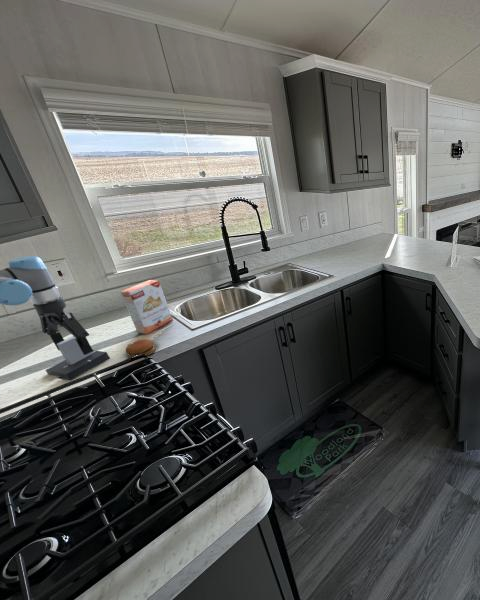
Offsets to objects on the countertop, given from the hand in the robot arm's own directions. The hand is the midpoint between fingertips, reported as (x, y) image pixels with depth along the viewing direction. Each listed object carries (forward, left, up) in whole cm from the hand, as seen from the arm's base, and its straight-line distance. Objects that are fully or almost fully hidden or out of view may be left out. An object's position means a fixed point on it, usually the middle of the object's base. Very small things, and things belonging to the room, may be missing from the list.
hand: (75, 350), depth 124 cm
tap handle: (0, 0, -4) cm, 4 cm away
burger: (+12, -15, -7) cm, 20 cm away
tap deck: (-1, 0, -7) cm, 7 cm away
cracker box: (+31, 0, -7) cm, 32 cm away
